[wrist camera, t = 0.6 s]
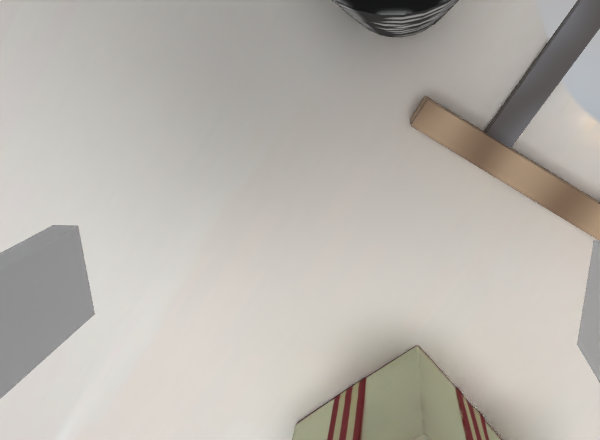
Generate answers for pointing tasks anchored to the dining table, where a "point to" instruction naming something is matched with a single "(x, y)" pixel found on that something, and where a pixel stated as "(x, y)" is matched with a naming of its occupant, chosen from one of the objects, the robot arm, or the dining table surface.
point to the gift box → (398, 407)
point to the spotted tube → (396, 14)
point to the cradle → (524, 125)
